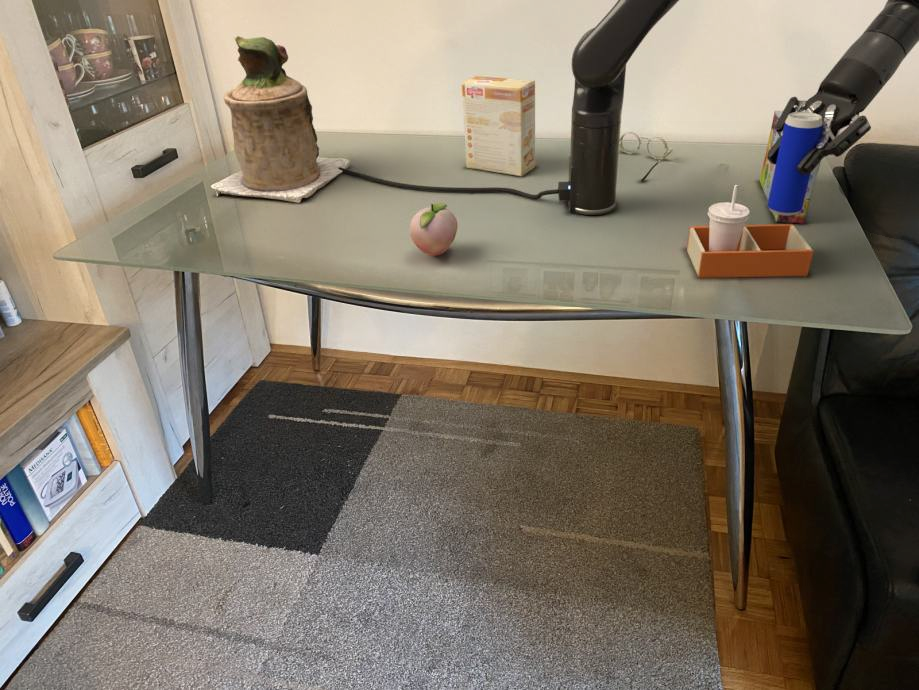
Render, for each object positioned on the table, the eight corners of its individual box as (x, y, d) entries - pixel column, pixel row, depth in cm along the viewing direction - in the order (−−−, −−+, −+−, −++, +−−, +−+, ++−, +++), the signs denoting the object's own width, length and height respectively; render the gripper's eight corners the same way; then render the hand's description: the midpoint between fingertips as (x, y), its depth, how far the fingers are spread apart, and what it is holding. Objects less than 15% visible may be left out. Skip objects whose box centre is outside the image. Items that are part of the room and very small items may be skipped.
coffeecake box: (536, 167, 160) (536, 79, 149) (521, 177, 155) (520, 88, 144) (480, 158, 167) (477, 74, 156) (465, 168, 162) (460, 82, 151)
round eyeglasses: (677, 162, 157) (679, 140, 154) (644, 183, 148) (646, 160, 145) (612, 149, 167) (613, 128, 164) (577, 168, 157) (578, 146, 155)
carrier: (698, 277, 113) (702, 253, 111) (686, 249, 122) (689, 226, 119) (807, 276, 112) (813, 251, 109) (787, 247, 120) (792, 223, 117)
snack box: (807, 224, 127) (827, 144, 118) (774, 223, 128) (792, 143, 119) (786, 181, 144) (802, 108, 135) (757, 181, 145) (772, 108, 136)
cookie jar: (304, 205, 149) (272, 47, 131) (209, 197, 156) (167, 47, 138) (353, 165, 168) (332, 23, 150) (267, 159, 175) (236, 23, 157)
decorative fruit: (422, 242, 130) (417, 192, 125) (463, 245, 128) (460, 194, 123) (405, 265, 123) (399, 213, 117) (448, 269, 121) (444, 216, 115)
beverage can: (802, 205, 112) (824, 112, 103) (800, 218, 108) (823, 122, 99) (768, 201, 114) (787, 110, 105) (765, 214, 110) (785, 120, 101)
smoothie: (719, 275, 113) (734, 195, 105) (692, 260, 118) (703, 182, 110) (748, 265, 116) (764, 185, 108) (720, 250, 120) (733, 173, 113)
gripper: (813, 48, 106) (740, 140, 109) (898, 65, 95) (815, 167, 98) (829, 78, 111) (759, 166, 114) (912, 98, 100) (832, 194, 103)
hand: (785, 166), depth 106 cm, fingers closed on beverage can, 5 cm apart
